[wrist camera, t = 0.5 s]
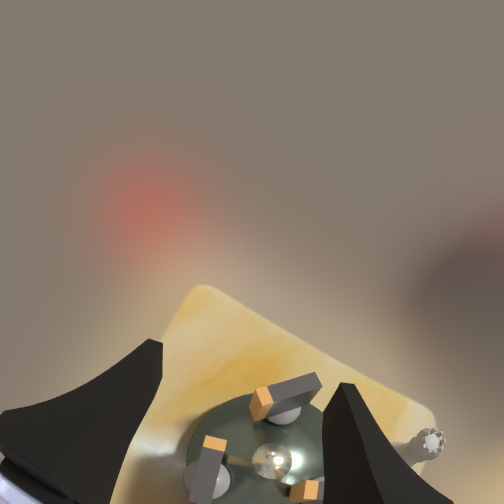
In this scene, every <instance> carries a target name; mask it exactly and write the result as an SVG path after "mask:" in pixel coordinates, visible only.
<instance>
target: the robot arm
mask: <svg viewBox="0 0 504 504" xmlns="http://www.w3.org/2000/svg"><path fill="white" fill-rule="evenodd" d="M162 359H163V343H161V342H158V341H154V340H151V339H147V340H146V341H145V342H143V343H142V344H141V345H140V346H138V347H137V348H136V349H135V350H134V351H132V352H131V353H130V354H129V355H127V356H126V357H125V358H123V359H122V360H121V361H119V362H118V363H117V364H115V365H114V366H112V367H111V368H110V369H108V370H107V371H105V372H104V373H102V374H101V375H99V376H97V377H96V378H94V379H93V380H91V381H89V382H88V383H86V384H84V385H82V386H80V387H78V388H76V389H74V390H72V391H70V392H68V393H65V394H63V395H61V396H59V397H56V398H53V399H51V400H48V401H45V402H41V403H38V404H35V405H32V406H28V407H22V408H17V409H12V410H6V411H4V412H3V413H2V414H1V415H0V451H1V452H2V454H3V455H4V456H5V458H4V459H3V461H1V460H0V504H110V500H111V497H112V493H113V490H114V487H115V484H116V481H117V478H118V475H119V472H120V469H121V466H122V463H123V461H124V458H125V455H126V453H127V450H128V447H129V445H130V443H131V441H132V438H133V436H134V435H135V433H136V431H137V429H138V427H139V425H140V423H141V422H142V420H143V418H144V416H145V414H146V412H147V410H148V409H149V407H150V405H151V403H152V401H153V399H154V397H155V395H156V392H157V390H158V387H159V384H160V382H161V379H162ZM322 446H323V463H324V494H323V504H454V503H453V501H452V500H450V499H448V498H447V497H445V496H444V495H442V494H441V493H439V492H438V491H437V490H435V489H434V488H433V487H431V486H430V485H429V484H427V483H426V482H425V481H424V480H423V479H422V478H421V477H420V476H419V475H418V474H417V473H416V472H415V471H414V470H413V469H412V468H411V467H410V466H409V465H408V464H407V463H406V462H405V461H404V460H403V459H402V457H401V456H400V455H399V454H398V453H397V451H396V450H395V449H394V448H393V446H392V445H391V444H390V442H389V441H388V439H387V438H386V436H385V435H384V434H383V432H382V431H381V429H380V427H379V426H378V424H377V423H376V421H375V419H374V418H373V416H372V414H371V413H370V411H369V409H368V407H367V406H366V404H365V402H364V400H363V398H362V397H361V395H360V393H359V391H358V390H357V388H356V386H355V384H349V383H342V382H341V383H340V384H339V386H338V388H337V390H336V391H335V393H334V395H333V397H332V398H331V400H330V402H329V403H328V405H327V407H326V408H325V410H324V412H323V421H322Z"/></svg>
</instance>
